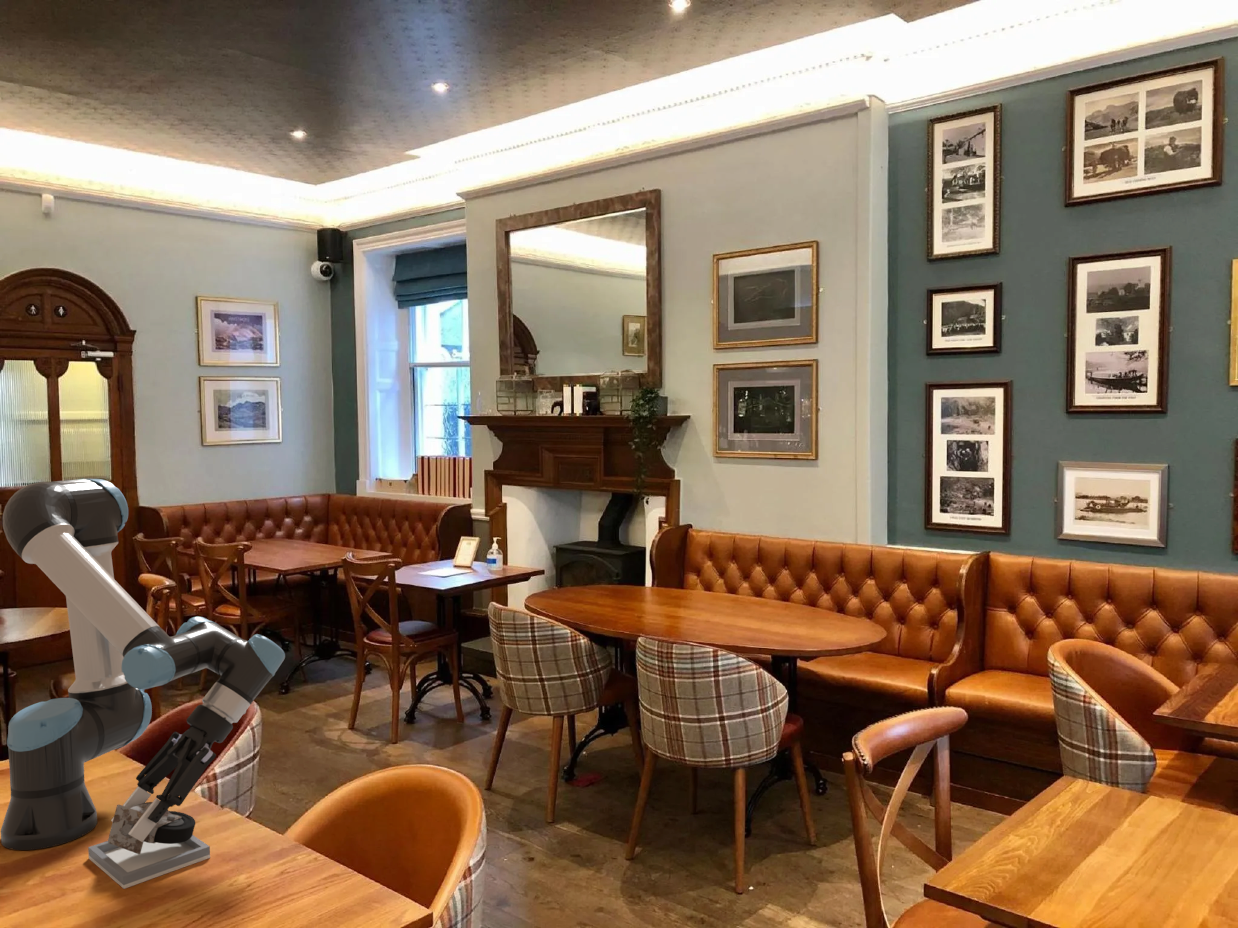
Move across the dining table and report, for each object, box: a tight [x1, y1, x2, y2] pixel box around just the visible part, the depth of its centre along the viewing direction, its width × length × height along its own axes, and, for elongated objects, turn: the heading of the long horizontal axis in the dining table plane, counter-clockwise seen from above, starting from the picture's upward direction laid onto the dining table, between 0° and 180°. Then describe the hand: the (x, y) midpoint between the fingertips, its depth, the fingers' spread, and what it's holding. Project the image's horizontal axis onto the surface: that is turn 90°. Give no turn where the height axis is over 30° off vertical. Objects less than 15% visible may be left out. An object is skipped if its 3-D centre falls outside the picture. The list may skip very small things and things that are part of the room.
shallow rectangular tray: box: [87, 834, 211, 889], centre depth 160 cm, size 16×14×2 cm
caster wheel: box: [107, 801, 196, 854], centre depth 161 cm, size 7×11×10 cm
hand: (126, 830), depth 157 cm, fingers closed on caster wheel, 7 cm apart
